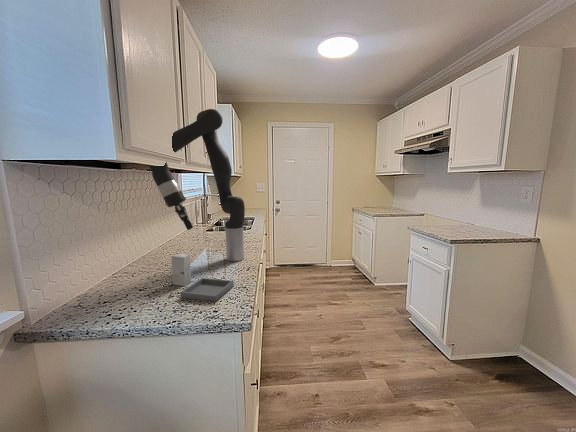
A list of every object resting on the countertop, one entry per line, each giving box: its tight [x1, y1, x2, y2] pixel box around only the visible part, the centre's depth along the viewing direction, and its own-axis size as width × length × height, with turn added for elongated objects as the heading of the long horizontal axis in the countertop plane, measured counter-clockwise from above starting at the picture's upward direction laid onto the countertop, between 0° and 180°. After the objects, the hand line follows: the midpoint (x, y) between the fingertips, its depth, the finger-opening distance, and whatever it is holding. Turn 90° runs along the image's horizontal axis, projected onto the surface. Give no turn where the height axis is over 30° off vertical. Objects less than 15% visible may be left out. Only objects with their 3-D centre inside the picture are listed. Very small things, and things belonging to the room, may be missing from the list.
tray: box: [179, 277, 235, 304], centre depth 99 cm, size 14×14×2 cm
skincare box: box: [171, 252, 192, 287], centre depth 107 cm, size 6×4×12 cm
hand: (190, 228), depth 109 cm, fingers open, 8 cm apart
